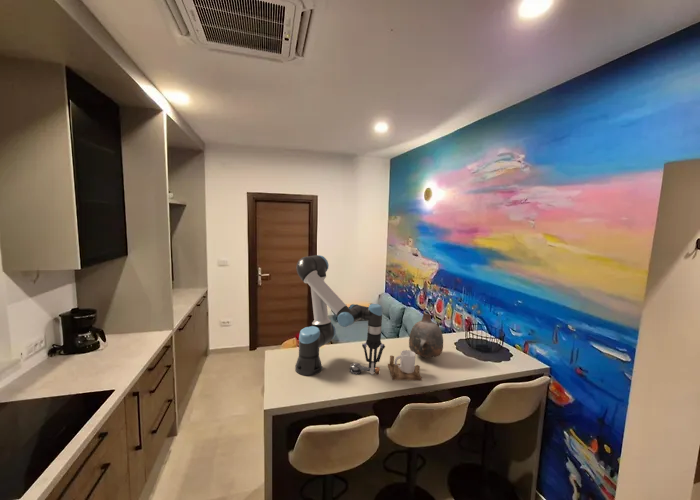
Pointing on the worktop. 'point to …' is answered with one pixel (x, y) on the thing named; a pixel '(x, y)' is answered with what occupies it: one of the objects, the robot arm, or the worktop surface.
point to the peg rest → (400, 375)
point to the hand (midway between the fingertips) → (371, 373)
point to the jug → (426, 338)
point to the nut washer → (355, 372)
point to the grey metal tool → (362, 368)
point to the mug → (406, 361)
